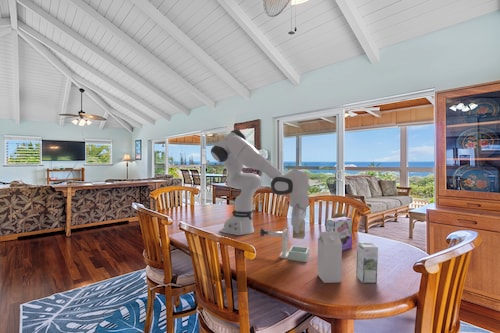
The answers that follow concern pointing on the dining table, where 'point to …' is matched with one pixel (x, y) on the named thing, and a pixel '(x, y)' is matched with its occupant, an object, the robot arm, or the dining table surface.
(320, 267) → the milk carton
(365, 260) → the syrup box
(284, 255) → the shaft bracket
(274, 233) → the shaft
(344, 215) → the fruit
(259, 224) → the dining table surface
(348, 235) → the candy box
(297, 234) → the block
